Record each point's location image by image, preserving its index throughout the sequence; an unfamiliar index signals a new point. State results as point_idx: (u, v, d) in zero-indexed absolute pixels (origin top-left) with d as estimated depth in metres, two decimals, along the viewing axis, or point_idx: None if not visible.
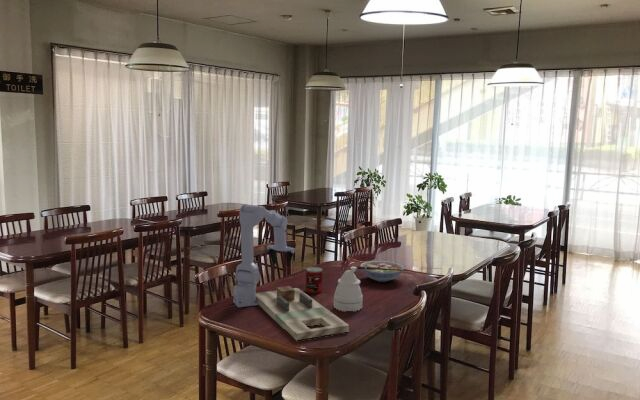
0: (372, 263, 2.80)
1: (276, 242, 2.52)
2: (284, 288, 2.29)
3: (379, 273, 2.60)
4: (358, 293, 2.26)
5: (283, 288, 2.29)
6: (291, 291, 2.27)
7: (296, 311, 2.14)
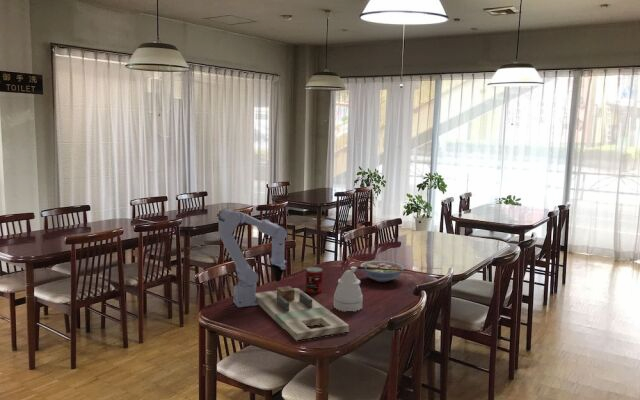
0: (372, 263, 2.80)
1: None
2: (284, 288, 2.29)
3: (379, 273, 2.60)
4: (358, 293, 2.26)
5: (283, 288, 2.29)
6: (291, 291, 2.27)
7: (296, 311, 2.14)
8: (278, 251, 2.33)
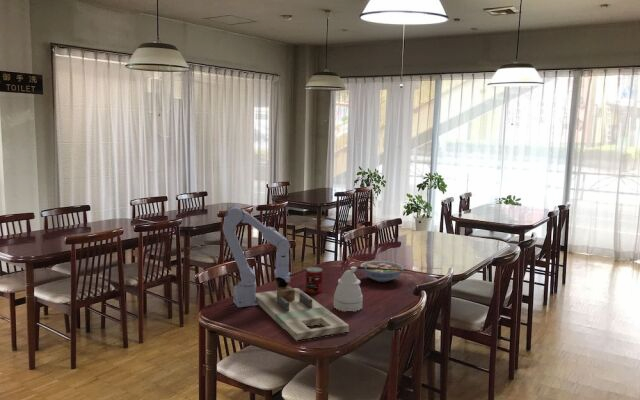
0: (372, 263, 2.80)
1: (276, 266, 2.31)
2: (284, 288, 2.29)
3: (379, 273, 2.60)
4: (358, 293, 2.26)
5: (283, 288, 2.29)
6: (291, 291, 2.27)
7: (296, 311, 2.14)
8: (280, 263, 2.29)
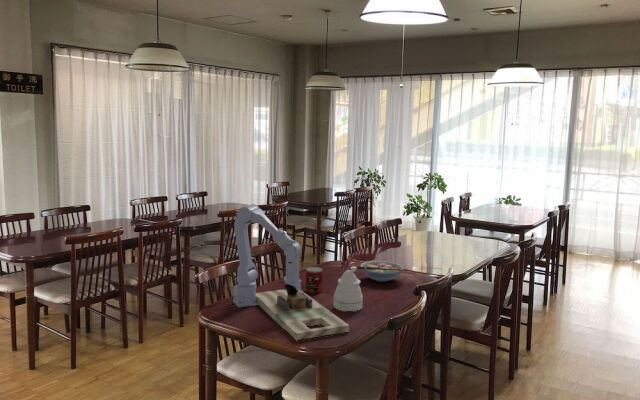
0: (372, 263, 2.80)
1: None
2: (295, 296, 2.18)
3: (379, 273, 2.60)
4: (358, 293, 2.26)
5: (294, 296, 2.19)
6: (302, 299, 2.17)
7: (296, 311, 2.14)
8: (287, 269, 2.19)
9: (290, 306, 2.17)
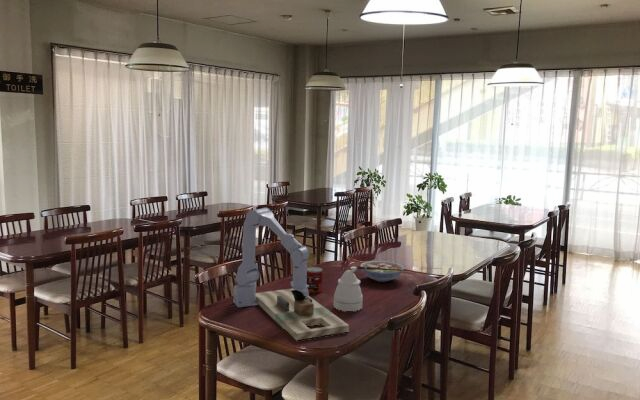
0: (372, 263, 2.80)
1: (293, 278, 2.14)
2: (302, 302, 2.11)
3: (379, 273, 2.60)
4: (358, 293, 2.26)
5: (301, 302, 2.12)
6: (310, 305, 2.10)
7: None
8: (293, 274, 2.12)
9: (297, 312, 2.10)
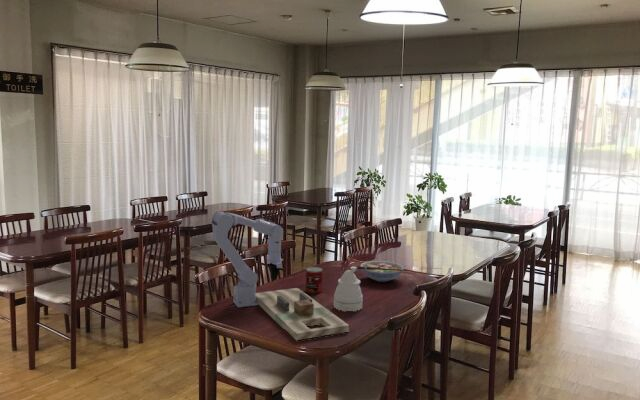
0: (372, 263, 2.80)
1: (268, 252, 2.33)
2: (302, 302, 2.11)
3: (379, 273, 2.60)
4: (358, 293, 2.26)
5: (301, 302, 2.12)
6: (310, 305, 2.10)
7: None
8: (274, 249, 2.31)
9: (297, 312, 2.10)
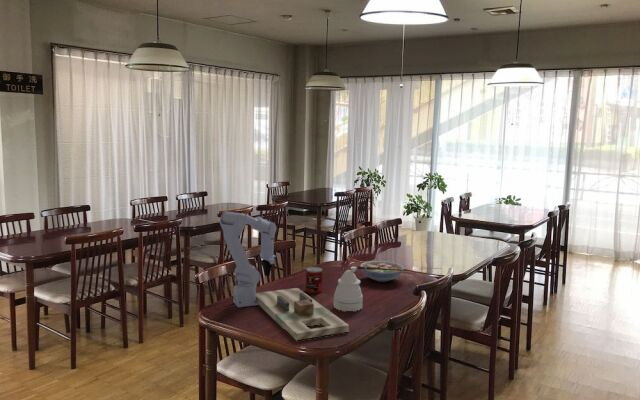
0: (372, 263, 2.80)
1: (261, 249, 2.39)
2: (302, 302, 2.11)
3: (379, 273, 2.60)
4: (358, 293, 2.26)
5: (301, 302, 2.12)
6: (310, 305, 2.10)
7: None
8: (270, 246, 2.37)
9: (297, 312, 2.10)
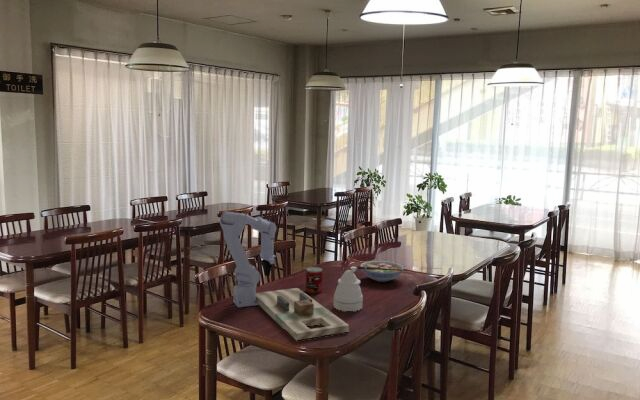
0: (372, 263, 2.80)
1: (261, 249, 2.39)
2: (302, 302, 2.11)
3: (379, 273, 2.60)
4: (358, 293, 2.26)
5: (301, 302, 2.12)
6: (310, 305, 2.10)
7: None
8: (270, 246, 2.37)
9: (297, 312, 2.10)
